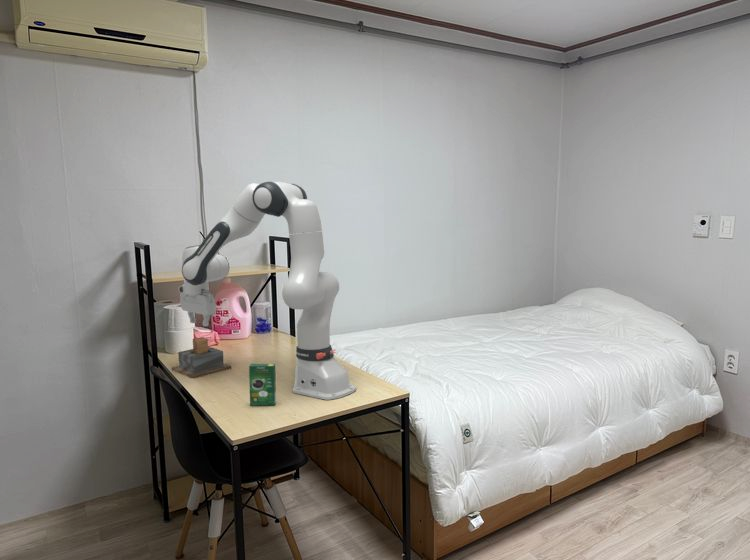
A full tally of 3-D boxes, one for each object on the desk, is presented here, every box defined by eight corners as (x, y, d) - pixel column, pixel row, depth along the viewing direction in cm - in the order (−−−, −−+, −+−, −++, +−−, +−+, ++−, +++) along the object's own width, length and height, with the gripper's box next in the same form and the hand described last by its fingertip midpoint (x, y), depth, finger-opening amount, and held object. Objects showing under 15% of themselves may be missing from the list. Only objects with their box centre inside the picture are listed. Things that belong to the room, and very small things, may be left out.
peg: (209, 364, 200) (207, 338, 199) (199, 366, 197) (197, 340, 196) (203, 362, 203) (202, 337, 202) (194, 364, 200) (192, 339, 199)
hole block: (231, 368, 201) (230, 350, 200) (192, 378, 189) (191, 360, 188) (209, 360, 212) (208, 344, 211) (171, 369, 200) (170, 352, 199)
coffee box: (277, 402, 165) (275, 362, 163) (275, 406, 162) (274, 365, 160) (252, 403, 165) (250, 362, 163) (249, 406, 162) (247, 365, 160)
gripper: (218, 289, 192) (221, 326, 193) (191, 285, 205) (193, 319, 207) (203, 291, 187) (205, 329, 189) (176, 287, 201) (178, 322, 203)
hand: (199, 324), depth 198 cm, fingers open, 8 cm apart
